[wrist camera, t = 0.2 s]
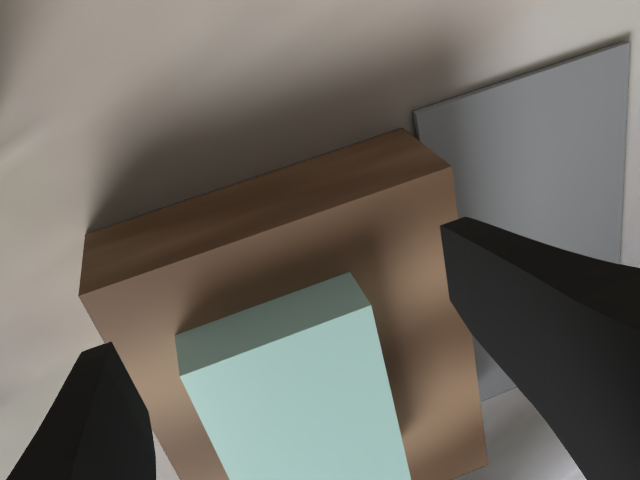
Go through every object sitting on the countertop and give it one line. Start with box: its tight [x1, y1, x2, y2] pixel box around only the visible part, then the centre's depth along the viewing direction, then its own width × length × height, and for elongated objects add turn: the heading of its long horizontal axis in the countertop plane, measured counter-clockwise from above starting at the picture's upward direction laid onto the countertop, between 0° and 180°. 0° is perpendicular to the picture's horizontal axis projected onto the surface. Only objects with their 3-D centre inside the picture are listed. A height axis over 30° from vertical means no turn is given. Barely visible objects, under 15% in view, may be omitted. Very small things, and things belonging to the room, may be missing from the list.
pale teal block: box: [175, 272, 411, 480], centre depth 21 cm, size 9×6×2 cm, turn 13°
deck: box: [79, 128, 488, 480], centre depth 24 cm, size 15×12×4 cm
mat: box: [413, 41, 630, 402], centre depth 27 cm, size 16×9×1 cm, turn 13°
